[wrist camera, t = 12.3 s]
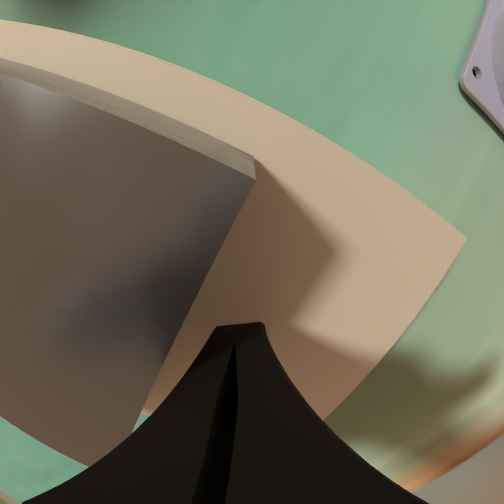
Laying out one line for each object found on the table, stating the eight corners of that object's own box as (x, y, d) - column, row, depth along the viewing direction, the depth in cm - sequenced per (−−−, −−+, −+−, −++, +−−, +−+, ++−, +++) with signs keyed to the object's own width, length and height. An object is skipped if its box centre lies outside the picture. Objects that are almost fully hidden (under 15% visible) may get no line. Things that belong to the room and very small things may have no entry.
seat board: (2, 25, 7) (-32, 17, 5) (432, 217, 11) (467, 238, 8) (-47, 253, 11) (-74, 271, 9) (280, 418, 15) (283, 455, 12)
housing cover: (0, 58, 6) (-85, 51, 2) (253, 156, 7) (256, 179, 4) (-36, 289, 9) (-89, 336, 5) (138, 395, 11) (111, 476, 7)
